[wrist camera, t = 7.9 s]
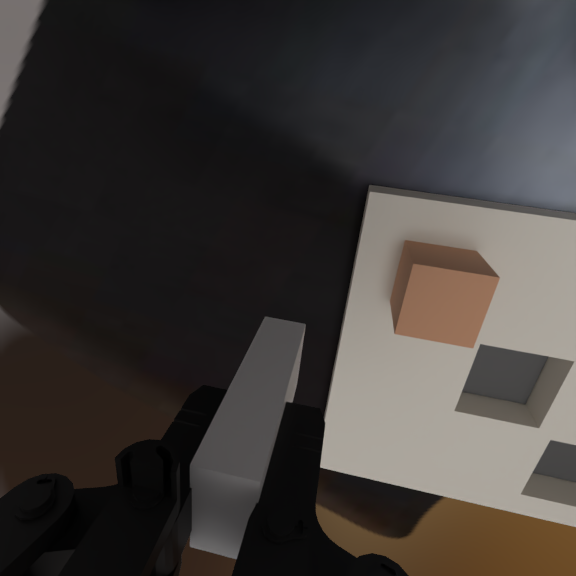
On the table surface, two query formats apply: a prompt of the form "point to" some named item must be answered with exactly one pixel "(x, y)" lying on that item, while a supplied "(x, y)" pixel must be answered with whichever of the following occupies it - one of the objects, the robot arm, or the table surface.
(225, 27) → the table surface
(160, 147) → the table surface
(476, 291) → the block
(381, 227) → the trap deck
